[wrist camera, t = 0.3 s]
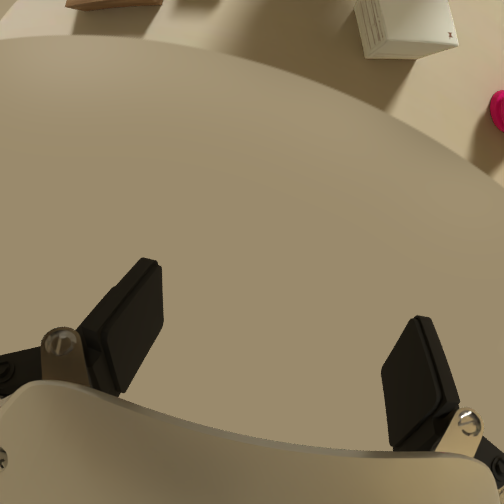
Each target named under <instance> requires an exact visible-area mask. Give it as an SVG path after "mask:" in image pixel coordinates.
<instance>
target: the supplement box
mask: <svg viewBox="0 0 504 504" xmlns="http://www.w3.org/2000/svg"><path fill="white" fill-rule="evenodd" d="M354 11H355V15H356V19H357V24H358V28H359V32H360V37H361V42H362V47H363V52H364V57H365V58H366V59H416V60H417V59H419V58H422V57H425V56H428V55H431V54H435V53H438V52H441V51H444V50H448V49H451V48H454V47H458V46H459V44H458V39H457V35H456V30H455V26H454V22H453V18H452V14H451V10H450V7H449V3H448V0H357V2H356V4H355V6H354Z"/></svg>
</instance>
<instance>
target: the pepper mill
mask: <svg viewBox="0 0 504 504" xmlns="http://www.w3.org/2000/svg"><path fill="white" fill-rule="evenodd" d="M490 112H491V117H492V120H493V122H494V124H495V125H496V127H497V128H498V129H499V130H501V131H502V132H504V90H500V91H498V92H496V93H495V94H494V95H493V97H492V99H491V103H490Z"/></svg>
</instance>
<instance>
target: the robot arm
mask: <svg viewBox="0 0 504 504" xmlns="http://www.w3.org/2000/svg"><path fill="white" fill-rule="evenodd" d="M162 295H163V293H162V267H161V266H159V265H158V262H157V261H156V260H151V259H147V258H141V259H140V260H139V261H138V262H137V263H136V264H135V265H134V266H133V267H132V269H131V270H130V271H129V272H128V273H127V274H126V275H125V276H124V277H123V278H122V280H121V281H120V282H119V283H118V284H117V285H116V286H115V287H113V288H111V290H110V291H109V292H108V293H107V294H106V295H105V296H104V298H103V299H102V300H101V301H100V302H99V303H98V305H96V307H95V308H94V309H93V310H92V312H91V313H90V314H89V315H88V316H87V317H86V318H85V320H84V321H83V322H82V323H81V325H80V326H79V327H78V328H77V329H76V330H74V329H72V328H69V327H57V328H54V329H52V330H50V331H49V332H47V333H46V334H45V335H44V337H43V339H42V340H41V346H40V347H35V348H31V349H27V350H22V351H18V352H13V353H9V354H4V355H0V504H504V453H503V452H501V451H500V450H499V449H498V448H497V447H495V446H494V445H493V444H492V443H491V442H490V441H488V440H487V439H486V438H485V437H484V436H483V433H484V422H483V419H482V417H481V416H480V414H479V413H478V412H477V411H475V410H474V409H472V408H469V407H462V408H460V409H459V405H458V404H459V403H460V399H459V396H458V392H457V389H456V386H455V383H454V380H453V377H452V374H451V371H450V368H449V365H448V362H447V359H446V356H445V354H444V351H443V349H442V346H441V343H440V340H439V338H438V335H437V332H436V330H435V327H434V325H433V322H432V320H431V319H430V318H429V317H424V316H418V315H417V316H415V317H414V318H413V319H410V320H409V322H408V324H407V325H406V327H405V329H404V331H403V333H402V334H401V336H400V338H399V340H398V341H397V343H396V345H395V346H394V348H393V350H392V351H391V353H390V355H389V357H388V358H387V360H386V361H385V363H384V364H383V366H382V370H381V377H382V384H383V391H384V398H385V406H386V414H387V424H388V434H389V443H390V445H391V446H393V451H361V450H345V449H332V448H323V447H314V446H306V445H298V444H291V443H285V442H278V441H273V440H267V439H262V438H256V437H251V436H247V435H242V434H237V433H233V432H228V431H224V430H220V429H216V428H212V427H208V426H204V425H201V424H197V423H193V422H190V421H186V420H183V419H180V418H176V417H173V416H170V415H167V414H164V413H161V412H158V411H155V410H152V409H149V408H146V407H142V406H140V405H137V404H134V403H131V402H129V401H126V400H123V399H120V398H118V397H119V395H120V393H125V392H126V390H127V389H128V387H129V385H130V383H131V381H132V379H133V378H134V376H135V374H136V373H137V371H138V369H139V367H140V365H141V364H142V362H143V360H144V358H145V357H146V355H147V353H148V351H149V350H150V348H151V346H152V345H153V343H154V341H155V339H156V338H157V336H158V334H159V332H160V330H161V329H162V326H163V322H164V318H163V296H162Z"/></svg>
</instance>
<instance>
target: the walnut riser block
mask: <svg viewBox="0 0 504 504" xmlns="http://www.w3.org/2000/svg"><path fill="white" fill-rule="evenodd" d="M162 2H163V0H67V1H66V5H65V7H67V8H72V9H77V10H82V11H90V10H98V9H106V8H116V7H128V6H146V5H162Z"/></svg>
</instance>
